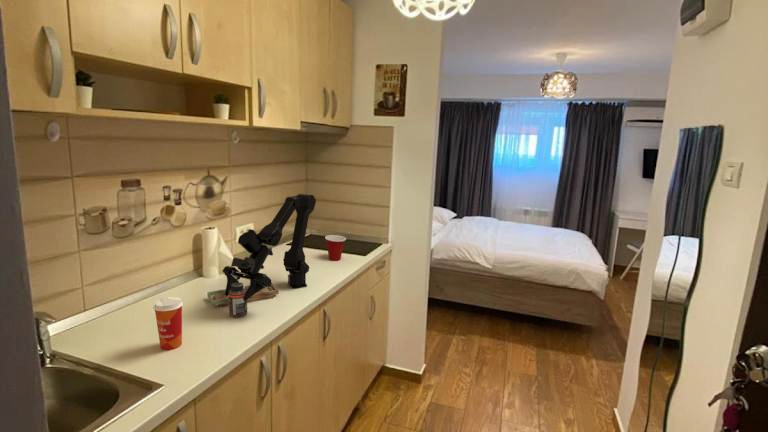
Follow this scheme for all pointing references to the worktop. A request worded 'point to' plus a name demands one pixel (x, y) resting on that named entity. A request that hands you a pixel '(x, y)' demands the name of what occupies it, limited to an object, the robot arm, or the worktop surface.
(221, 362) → the worktop surface
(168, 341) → the paper cup
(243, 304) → the supplement bottle
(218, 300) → the wooden tray
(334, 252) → the plastic cup
